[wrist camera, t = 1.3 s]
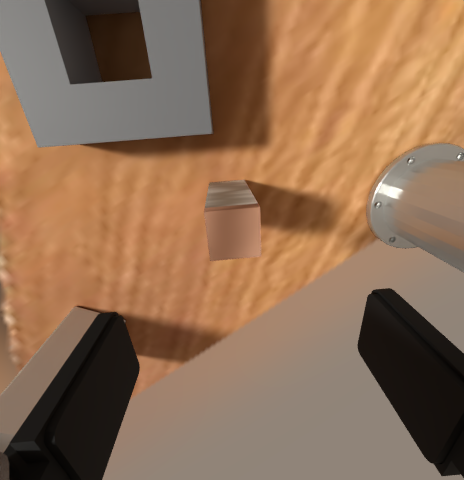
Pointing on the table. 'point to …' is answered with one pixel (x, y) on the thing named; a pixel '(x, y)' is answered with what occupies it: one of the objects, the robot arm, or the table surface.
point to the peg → (232, 221)
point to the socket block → (89, 79)
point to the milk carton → (40, 372)
